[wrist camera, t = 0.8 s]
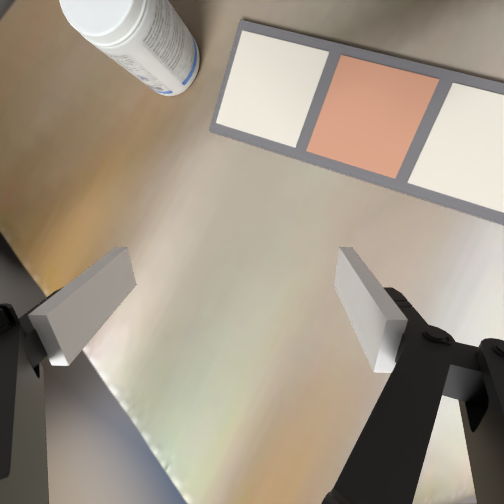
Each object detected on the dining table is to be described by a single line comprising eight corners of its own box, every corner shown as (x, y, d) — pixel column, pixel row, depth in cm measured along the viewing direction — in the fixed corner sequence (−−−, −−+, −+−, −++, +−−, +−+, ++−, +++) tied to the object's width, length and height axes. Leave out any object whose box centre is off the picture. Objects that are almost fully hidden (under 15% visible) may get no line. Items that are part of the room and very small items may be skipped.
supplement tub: (183, 15, 38) (108, -105, 24) (212, 74, 38) (156, -8, 24) (133, 56, 40) (38, -30, 26) (161, 111, 41) (82, 56, 26)
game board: (241, 23, 36) (239, 18, 35) (571, 104, 30) (580, 100, 29) (211, 132, 39) (208, 130, 38) (503, 225, 33) (509, 225, 32)
